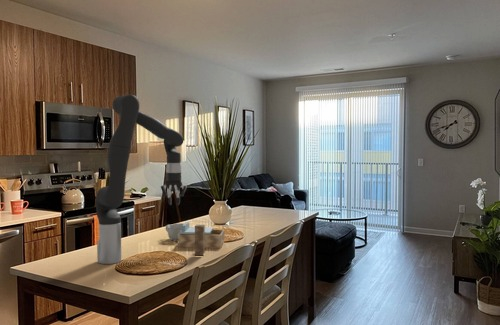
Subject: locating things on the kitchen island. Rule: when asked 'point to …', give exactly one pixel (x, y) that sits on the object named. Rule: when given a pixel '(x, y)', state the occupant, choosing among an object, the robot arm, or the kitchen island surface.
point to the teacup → (174, 231)
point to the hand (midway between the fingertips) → (174, 204)
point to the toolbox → (211, 240)
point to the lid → (193, 229)
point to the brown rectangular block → (199, 239)
